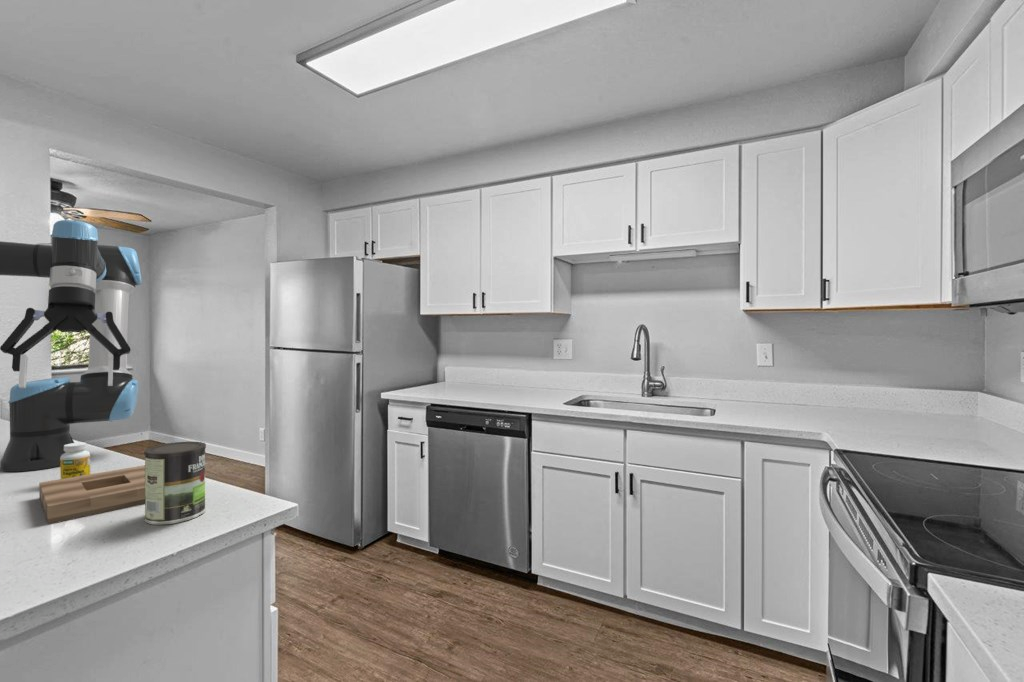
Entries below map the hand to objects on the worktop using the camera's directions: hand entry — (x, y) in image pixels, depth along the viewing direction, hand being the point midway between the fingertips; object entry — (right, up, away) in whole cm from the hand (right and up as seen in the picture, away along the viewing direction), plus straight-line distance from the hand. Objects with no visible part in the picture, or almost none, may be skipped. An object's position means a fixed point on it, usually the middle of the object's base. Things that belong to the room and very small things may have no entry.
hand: (68, 386), depth 100 cm
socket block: (+3, -26, +6) cm, 26 cm away
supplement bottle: (-12, -25, +15) cm, 32 cm away
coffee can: (+25, -26, -3) cm, 36 cm away
